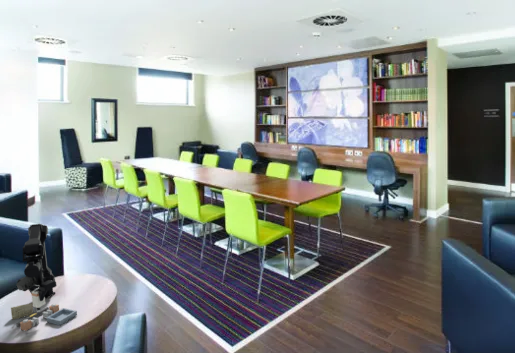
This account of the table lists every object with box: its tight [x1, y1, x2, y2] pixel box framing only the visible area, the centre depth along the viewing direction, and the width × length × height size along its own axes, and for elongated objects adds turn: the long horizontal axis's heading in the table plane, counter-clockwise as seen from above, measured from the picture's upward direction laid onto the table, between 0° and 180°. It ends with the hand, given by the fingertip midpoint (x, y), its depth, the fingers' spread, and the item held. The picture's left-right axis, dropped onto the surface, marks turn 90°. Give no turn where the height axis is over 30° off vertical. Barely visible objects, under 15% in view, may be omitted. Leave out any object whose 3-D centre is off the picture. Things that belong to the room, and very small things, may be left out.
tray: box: [46, 307, 78, 326], centre depth 176 cm, size 9×10×2 cm
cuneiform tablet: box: [10, 302, 41, 321], centre depth 179 cm, size 7×4×12 cm
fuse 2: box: [49, 303, 60, 314], centre depth 182 cm, size 3×3×4 cm
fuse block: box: [16, 306, 53, 328], centre depth 175 cm, size 7×16×2 cm, turn 160°
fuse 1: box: [19, 318, 33, 332], centre depth 168 cm, size 3×3×4 cm
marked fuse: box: [30, 288, 46, 309], centre depth 173 cm, size 4×4×8 cm
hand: (38, 300), depth 173 cm, fingers closed on marked fuse, 4 cm apart
